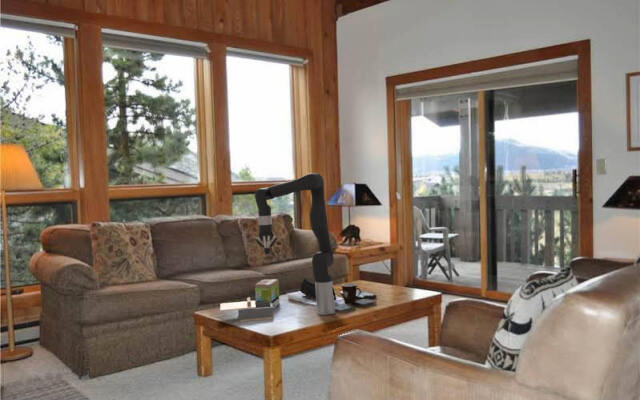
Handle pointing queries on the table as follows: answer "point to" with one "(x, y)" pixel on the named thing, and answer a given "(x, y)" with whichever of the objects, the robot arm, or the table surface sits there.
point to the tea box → (267, 291)
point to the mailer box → (257, 312)
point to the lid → (238, 305)
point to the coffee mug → (350, 292)
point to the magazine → (311, 289)
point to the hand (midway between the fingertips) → (267, 254)
